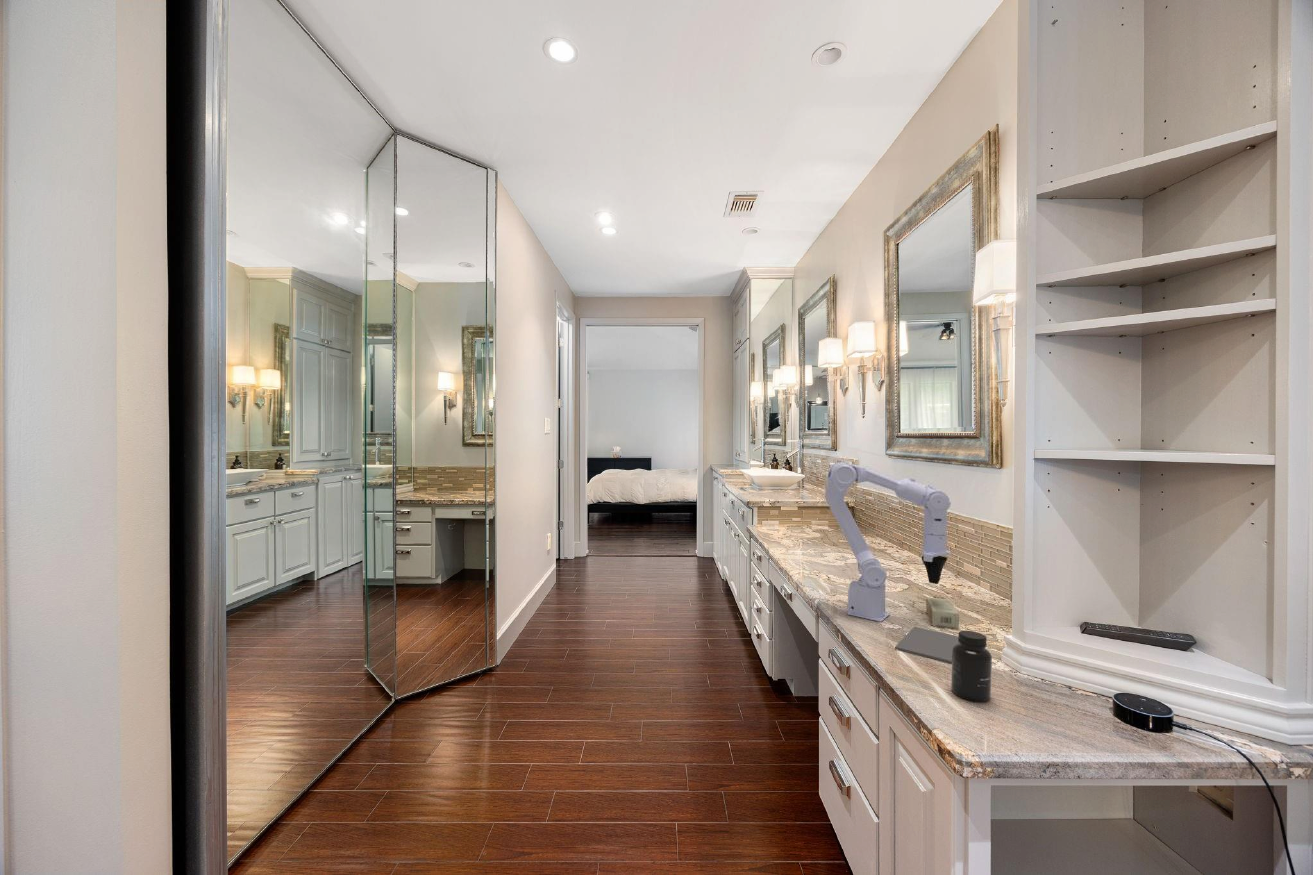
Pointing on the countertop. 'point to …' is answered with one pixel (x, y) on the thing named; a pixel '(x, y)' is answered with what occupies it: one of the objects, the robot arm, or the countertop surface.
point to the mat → (929, 644)
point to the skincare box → (942, 613)
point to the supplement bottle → (971, 667)
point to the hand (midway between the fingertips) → (933, 582)
